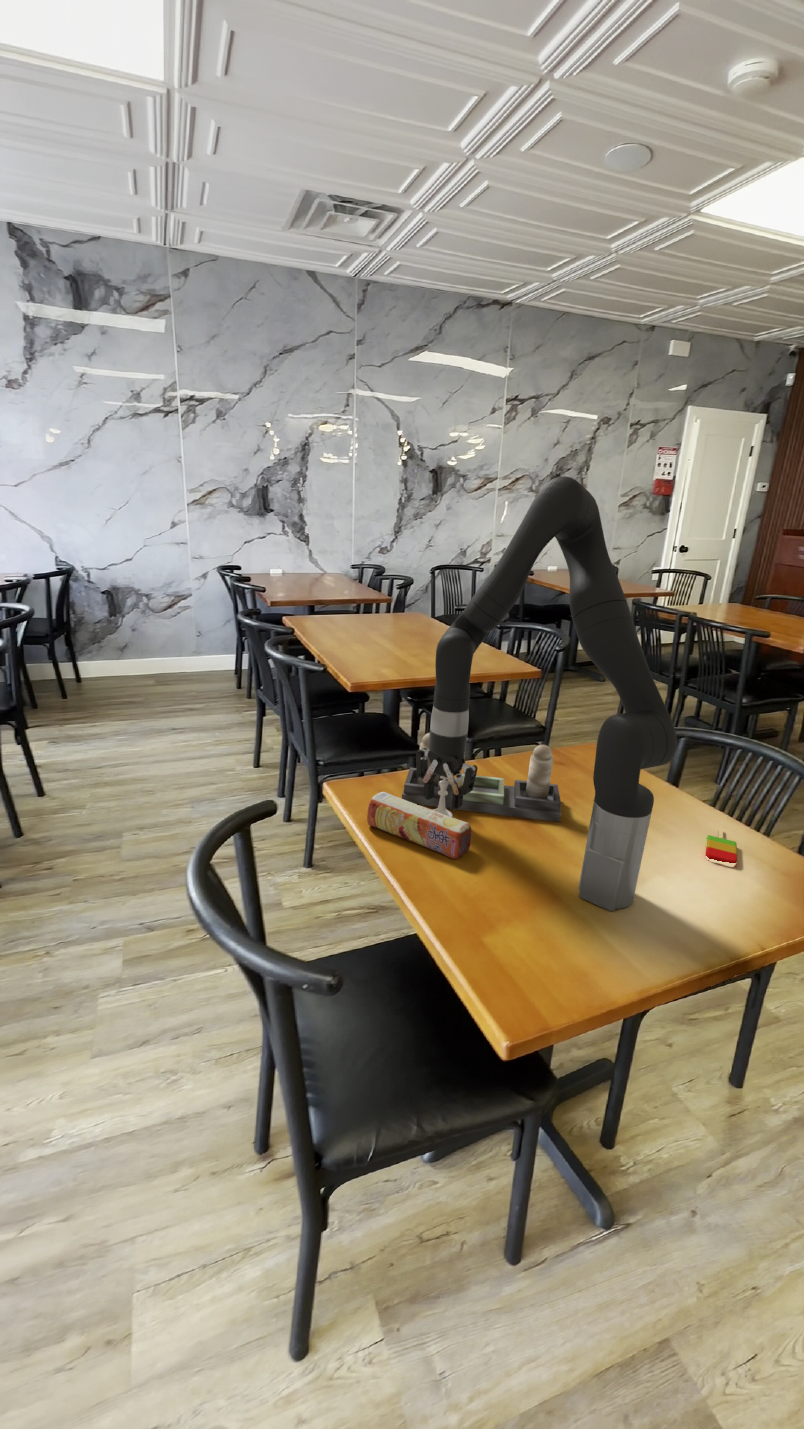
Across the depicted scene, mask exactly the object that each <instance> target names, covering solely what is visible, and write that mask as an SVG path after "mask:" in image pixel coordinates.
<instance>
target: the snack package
mask: <svg viewBox="0 0 804 1429" xmlns="http://www.w3.org/2000/svg"><path fill="white" fill-rule="evenodd" d="M452 817H453V816H452ZM452 817H449V816H447V815H444V814H442V813H439V812H437V811H434V809H430V808H428V807H427V806H424V805H417V804H414V803H412V802H409V801H406V800H404V799H402V797H398V796H396V795H394V794H392V793H388V792H387V791H381V792H378V793H376V794H374V795H373V796H372V797H371V799H370V801H369V802H368V805H367V814H366V821H367V824H368V825H369V826H370V827H374V828H377V829H379V830H381V831H384V832H387V833H389V834H391V835H394V836H397V837H400V838H402V839H404V840H407V841H410V842H412V843H415V844H418V845H420V846H422V847H425V848H427V849H430V850H433V851H435V852H437V853H440V854H442V855H444V856H446V857H448V858H450V859H453V860H459V859H460V858H462V857H463V855H465V854H466V853H467V852H468V851H469V849H470V847H471V844H472V827H471V824H470V823H469V822H468V821H464V820H461V819H458V818H455V817H453V818H452Z"/></svg>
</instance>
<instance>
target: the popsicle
mask: <svg viewBox="0 0 804 1429" xmlns="http://www.w3.org/2000/svg"><path fill="white" fill-rule="evenodd" d="M706 839H707V846H706V845H705V856H707V857H708V858H709V859H714V860H717V861H722V862H729V863H736V862H737V863H738V849H737V848H738V847H737V846H738V845H737V841H734V840H731V839H726V838H724V839H723V838H719V836H714V835H710V834H709V835H708V834H707V836H706Z"/></svg>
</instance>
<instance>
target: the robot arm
mask: <svg viewBox="0 0 804 1429" xmlns="http://www.w3.org/2000/svg"><path fill="white" fill-rule="evenodd" d="M601 520H602V518H601V514H600V509H599V506H598V503H597V500H596V499H595V497H594V496H593V495H592V494H591V493H590V492H589V490H587V489H586V487H584V486H583V485H582V484H581V482H579V481H577V480H576V479H574V478H573V477H570V476H566V475H565V476H564V475H563V476H562V475H561V476H557V477H554V478H552V479H551V480H549V481H548V482H546V483H544V485H543V486H542V487H541V489H540V490H539V492H538V493H537V494H536V496H535V498H534V499H533V501H532V502H531V504H530V506H529V508H528V510H527V511H526V513H525V515H524V517H523V519H522V520H521V523H520V525H519V526H518V528H517V529H516V531H515V534H514V535H513V537H512V539H511V540H510V542H509V543H508V545H507V547H506V549H505V550H504V552H503V554H502V555H501V557H500V558H499V560H498V562H497V563H496V565H495V567H494V568H493V569H492V570H491V572H490V574H489V575H488V576H487V577H486V579H485V580H484V581H483V583H482V584H481V586H480V587H479V588H478V590H477V591H476V592H475V594H474V595H473V596H471V599H470V600H469V601H468V603H467V604H466V606H465V608H464V610H463V611H462V612H461V613H460V614H459V615H458V617H456V619H455V620H454V621H453V622H452V624H451V625H450V626H449V627H448V628H447V629H446V630H445V632H444V633H443V635H441V638H440V639H439V641H438V643H437V646H436V650H435V662H434V663H435V664H434V665H435V666H434V667H435V686H434V693H433V695H434V696H433V706H432V711H431V715H430V726H429V727H430V728H429V733H430V737H429V749H430V750H427V749H426V748H423V749H420V748H419V749H418V750H416V751H415V762H416V763H415V764H416V765H415V768H416V775H417V777H418V778H420V777H421V778H422V779H423V781H424V796H425V799H427V800H429V799H431V798H433V796H434V785H435V781H433V780H434V778H435V777H436V775H437V774H438V775H443V776H444V777H446V778H448V781H449V784H451V785H452V788H453V792H454V794H453V798H452V809H451V810H452V811H454V812H455V811H457V809H459V808H460V807H461V806H462V803H463V795H466V794H467V793H469V792H471V791H472V790H473V787H474V782H475V778H476V775H477V773H478V766H477V765H476V764H474V765H470V764H469V763H466V760H465V754H466V752H467V751H466V750H467V742H468V731H469V722H470V721H469V718H470V716H469V715H470V714H469V709H470V699H471V698H470V697H471V684H470V679H471V672H472V664H473V658H474V654H475V653H476V651H477V649H478V648H479V646H480V645H481V644H482V643H483V642H484V640H486V637H487V636H488V635H489V633H490V632H492V631H493V630H495V629H496V628H497V627H498V626H499V625H500V623H501V622H502V621H503V620H504V619H505V617H506V616H507V615H508V614H509V612H510V611H511V609H512V608H514V606H515V604H516V603H517V601H518V600H519V598H520V596H521V595H522V593H523V591H524V589H525V586H526V583H527V581H528V578H529V577H530V576H529V575H530V574H531V571H532V568H533V566H534V564H535V563H536V562H537V559H538V557H539V556H540V555H541V553H542V551H543V550H544V548H546V546H547V545H548V544H549V543H550V542H551V541H552V540H553V539H554V538H555V539H556V542H557V543H558V545H559V547H560V549H561V551H562V552H561V553H562V555H563V558H564V560H565V563H566V565H567V566H566V567H567V568H568V569H567V570H568V573H569V574H568V575H569V609H570V614H571V619H572V622H573V626H574V630H575V632H576V636H577V639H578V642H579V644H580V646H581V649H582V650H583V652H584V653H585V655H586V656H587V657H588V658H589V659H590V661H591V662H592V664H594V665H595V667H596V668H598V670H599V671H601V673H602V674H603V675H604V676H605V677H606V678H607V679H608V680H609V682H610V683H611V684H612V686H613V687H614V688H615V690H616V693H617V694H618V696H619V699H620V701H621V704H622V708H623V710H624V713H618V714H613V715H610V716H609V717H608V718H606V720H604V722H603V723H602V725H601V727H600V729H599V733H598V736H597V741H596V748H595V759H594V767H593V776H592V778H593V779H592V780H593V787H594V800H593V805H592V810H591V815H590V820H589V827H588V831H587V832H588V833H587V838H586V844H585V850H584V854H583V860H582V867H581V871H580V872H581V873H580V879H579V884H578V890H579V893H578V898H580V899H583V900H585V901H588V902H589V903H592V904H594V905H596V906H599V907H601V908H603V909H605V910H608V911H609V912H615V910H618V909H624V908H627V907H629V906H631V905H632V904H633V901H634V899H635V894H636V890H637V885H638V884H637V883H638V878H639V874H640V871H641V870H640V869H641V864H642V859H643V857H644V856H643V855H644V850H645V845H646V842H647V841H646V840H647V837H648V831H649V826H650V822H651V816H652V813H653V807H654V803H655V802H654V801H655V797H654V793H653V791H652V790H650V789H649V788H647V787H646V786H645V785H643V784H641V783H640V776H641V775H640V774H641V770H643V769H644V770H645V769H649V768H655V767H660V766H664V765H667V764H668V763H670V761H672V759H673V758H674V757H675V754H676V752H677V747H678V739H677V732H676V729H675V725H674V723H673V720H672V717H671V715H670V713H669V711H668V709H667V707H666V706H667V705H665V702H664V699H663V698H662V696H661V693H660V691H659V689H658V687H657V684H656V682H655V680H654V678H653V674H652V673H651V670H650V666H649V664H648V662H647V659H646V656H645V654H644V649H643V648H642V645H641V642H640V640H639V636H638V632H637V629H636V626H635V623H634V619H633V616H632V612H631V609H630V607H629V603H628V601H627V598H626V596H625V593H624V591H623V587H622V586H621V582H620V579H619V577H618V574H617V572H616V570H615V567H614V565H613V562H612V561H611V558H610V555H609V551H608V548H607V545H606V544H607V543H606V540H605V533H604V528H603V524H602V521H601ZM428 758H429V761H430V763H431V766H430V767H429V769H428ZM462 770H463V772H462ZM462 774H463V775H465V777H464V781H463V775H462Z"/></svg>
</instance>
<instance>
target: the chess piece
mask: <svg viewBox="0 0 804 1429" xmlns="http://www.w3.org/2000/svg"><path fill="white" fill-rule="evenodd" d="M440 778H442V779H443V780H441V781H439V785H440V789H441V790H440V791H438V794H439V795H440V800H439V805H438V807H436V808H435V809H433V810H434V811H437V812H439V813H442V814H444V815H447V816H449V817H452V818H454V816H453V813H452V812H451V811H450V810H449V809H448V808H445V796H446V795H448V792H447V791H446V789H447V786H448V784H449V782H448V781H445V779H448V778H446V777H444V776H440Z"/></svg>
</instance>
